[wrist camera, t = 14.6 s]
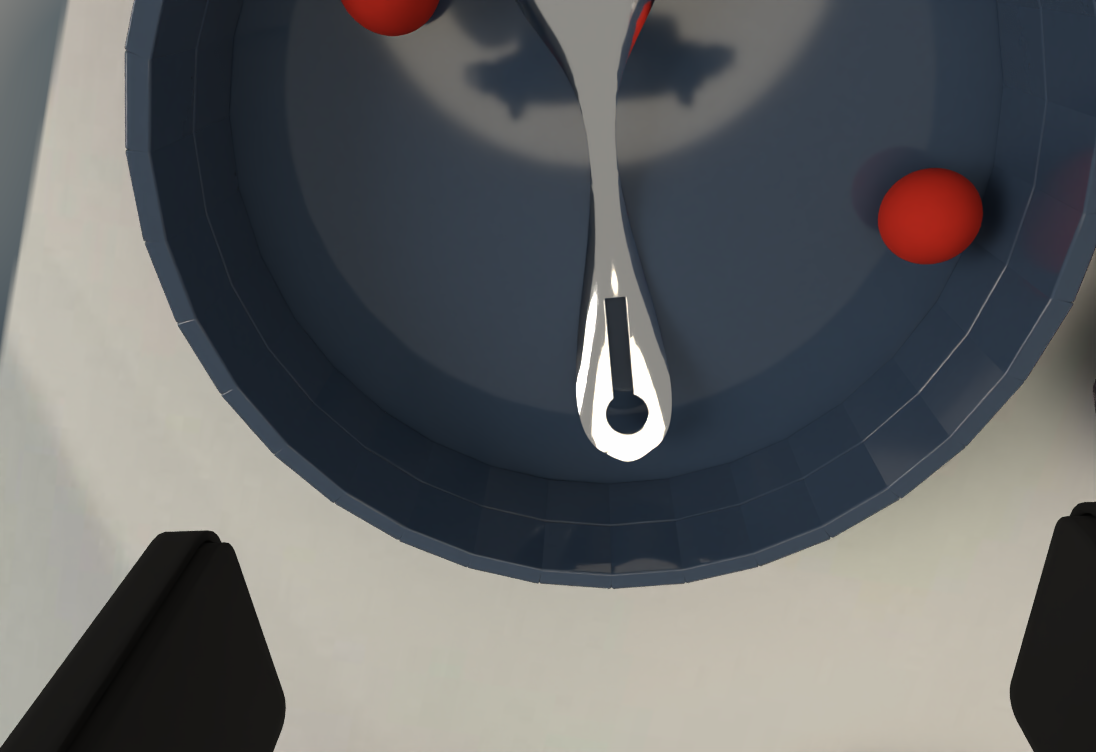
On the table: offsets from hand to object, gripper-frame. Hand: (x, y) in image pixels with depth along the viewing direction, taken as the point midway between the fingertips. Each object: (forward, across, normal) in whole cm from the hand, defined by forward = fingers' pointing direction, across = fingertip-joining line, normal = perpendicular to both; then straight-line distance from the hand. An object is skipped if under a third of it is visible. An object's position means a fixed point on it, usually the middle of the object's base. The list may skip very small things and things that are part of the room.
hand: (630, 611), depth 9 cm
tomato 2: (+18, -10, +2) cm, 21 cm away
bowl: (+20, 0, 0) cm, 20 cm away
